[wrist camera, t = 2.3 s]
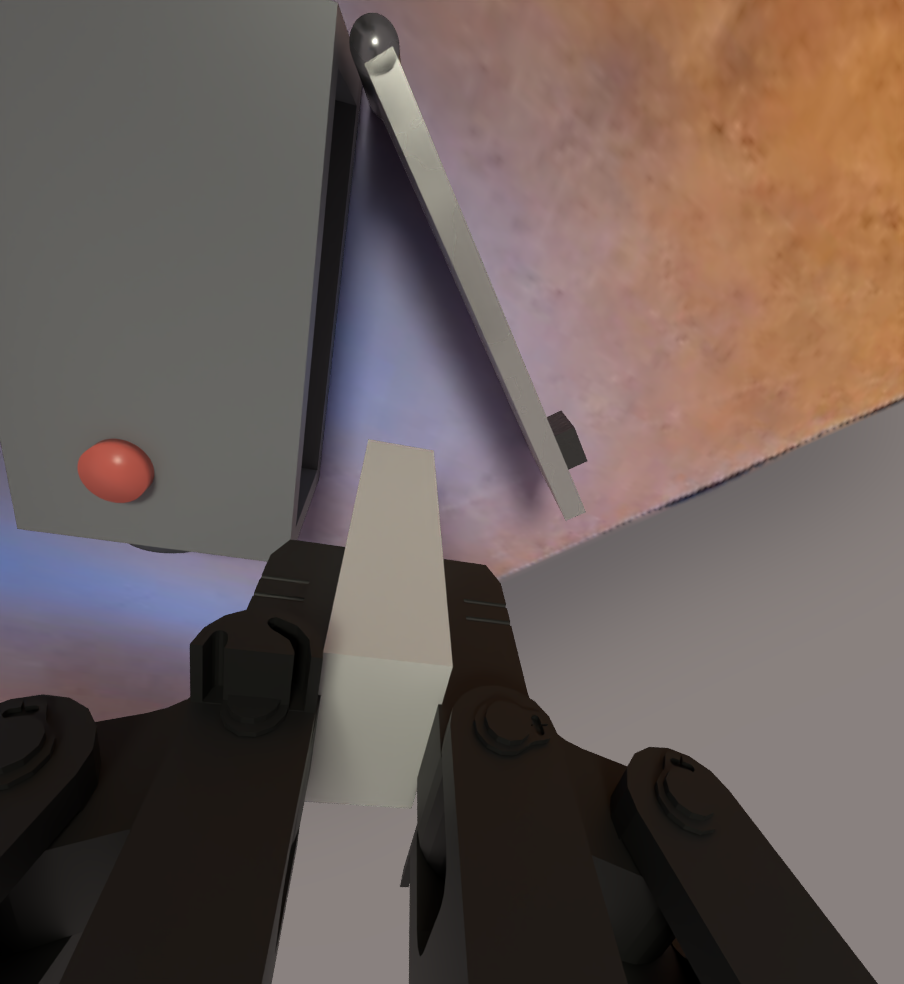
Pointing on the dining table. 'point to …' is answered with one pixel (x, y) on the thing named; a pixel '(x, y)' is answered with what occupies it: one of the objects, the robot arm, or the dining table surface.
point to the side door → (462, 254)
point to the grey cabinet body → (171, 264)
